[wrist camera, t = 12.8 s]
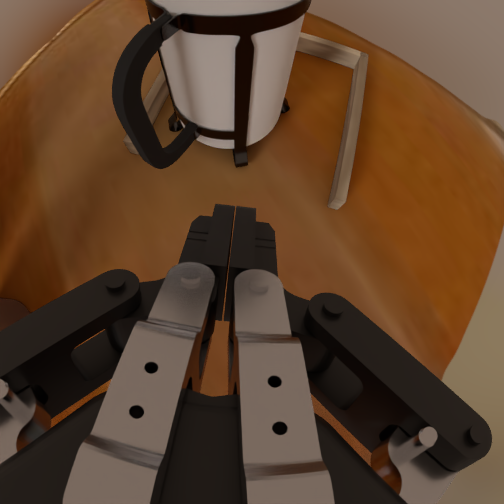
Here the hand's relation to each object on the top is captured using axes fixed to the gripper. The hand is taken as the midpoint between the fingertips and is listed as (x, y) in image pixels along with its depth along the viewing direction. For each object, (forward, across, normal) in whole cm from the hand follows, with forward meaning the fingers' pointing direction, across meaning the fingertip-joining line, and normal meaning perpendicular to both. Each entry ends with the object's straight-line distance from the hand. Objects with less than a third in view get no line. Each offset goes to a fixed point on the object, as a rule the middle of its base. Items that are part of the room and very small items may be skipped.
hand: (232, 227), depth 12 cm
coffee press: (+28, +3, +3) cm, 28 cm away
